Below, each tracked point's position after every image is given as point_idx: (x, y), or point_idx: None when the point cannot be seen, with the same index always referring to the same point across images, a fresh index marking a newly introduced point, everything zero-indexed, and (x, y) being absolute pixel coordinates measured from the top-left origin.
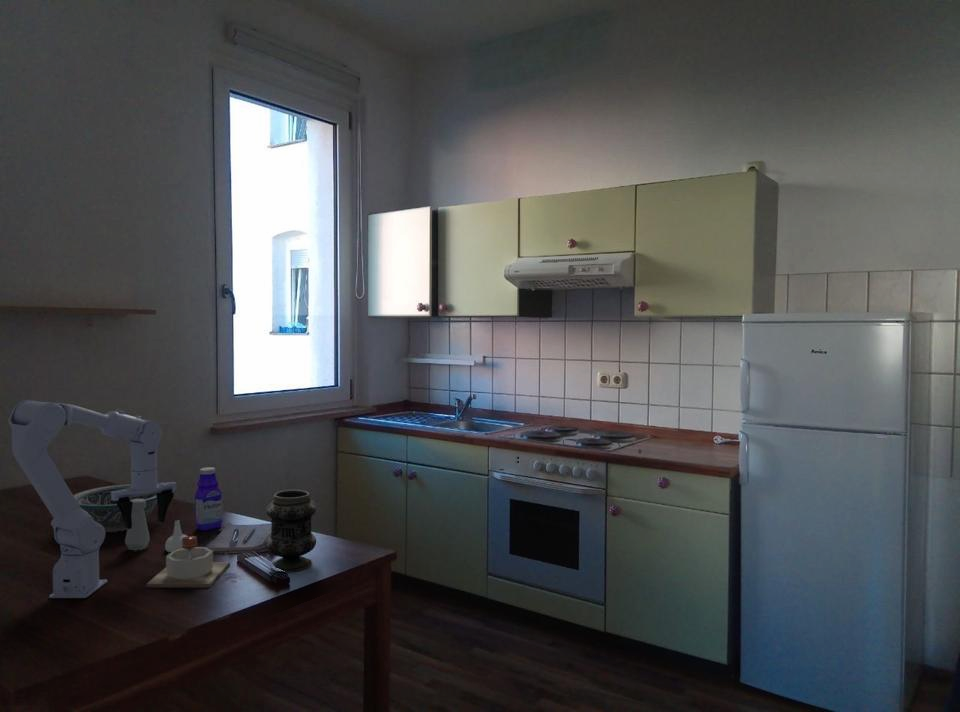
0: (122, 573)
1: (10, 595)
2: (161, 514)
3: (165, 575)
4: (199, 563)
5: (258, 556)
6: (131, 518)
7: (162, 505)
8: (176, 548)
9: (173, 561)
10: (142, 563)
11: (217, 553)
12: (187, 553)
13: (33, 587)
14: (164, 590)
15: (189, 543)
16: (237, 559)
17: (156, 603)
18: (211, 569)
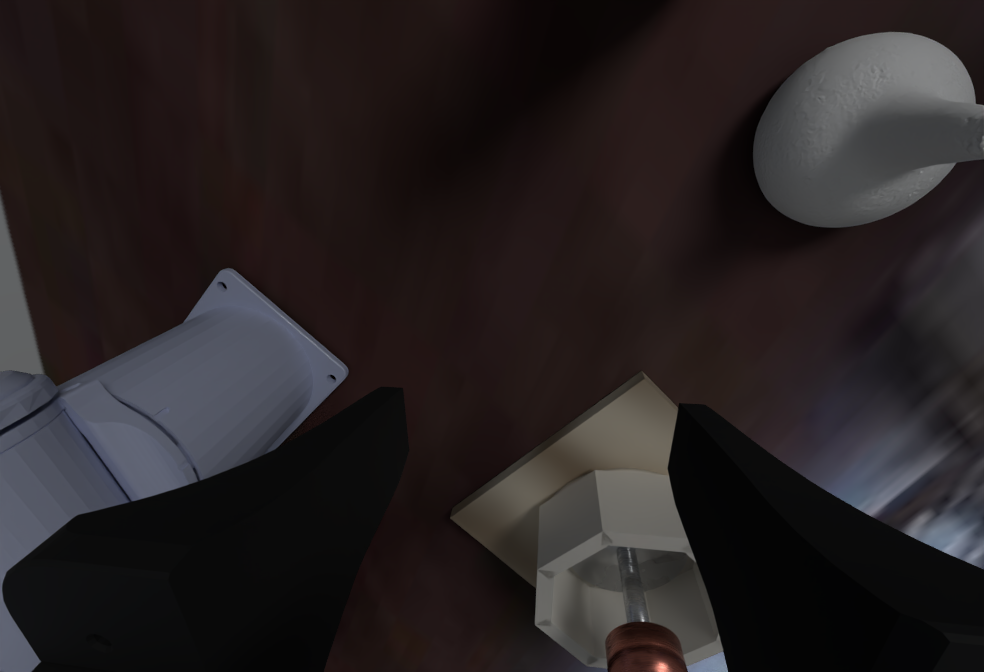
0: (428, 308)
1: (15, 234)
2: (692, 518)
3: (537, 497)
4: None
5: (974, 538)
6: (372, 536)
7: (731, 632)
8: (785, 215)
9: (536, 621)
10: (551, 238)
11: (906, 374)
12: (625, 609)
13: (84, 202)
14: (488, 564)
15: None
16: (884, 506)
17: (432, 618)
18: None
